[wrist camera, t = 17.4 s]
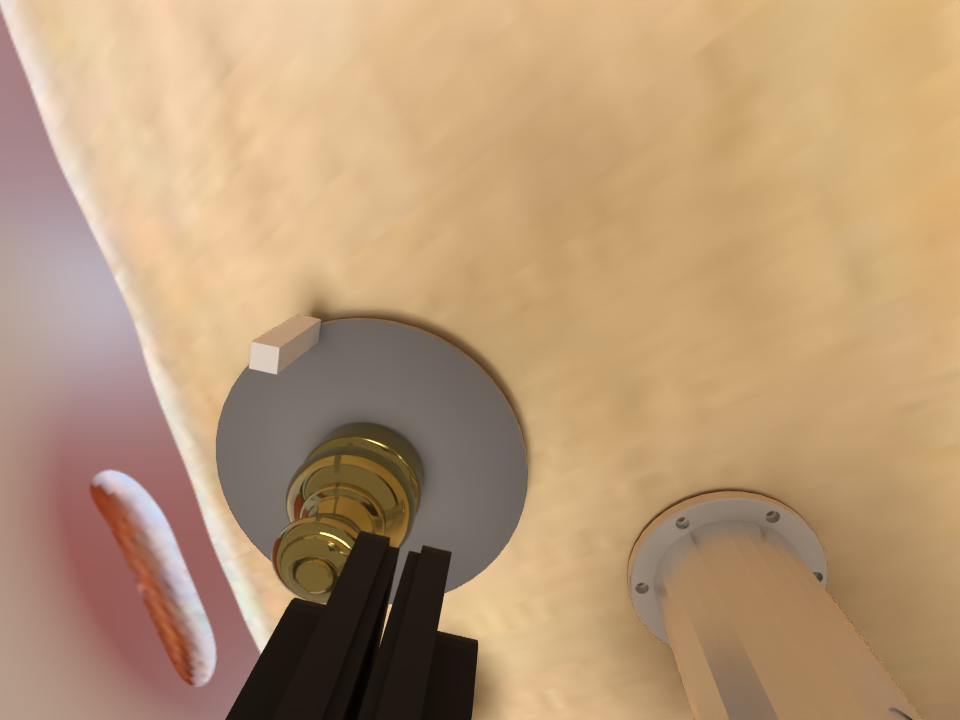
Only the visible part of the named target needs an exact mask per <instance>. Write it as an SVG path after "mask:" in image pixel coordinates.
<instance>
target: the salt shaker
mask: <svg viewBox="0 0 960 720" xmlns="http://www.w3.org/2000/svg"><path fill="white" fill-rule="evenodd" d="M423 489H424V470H423V466H422V463H421V461H420V459H419V457H418V455H417V453H416V452H415V450H414V449H413V447H412V446H411V445H410V444H409V443H408V442H407V441H406V440H405V439H404V438H402V437H401V436H400V435H398V434H397V433H395V432H393V431H391V430H389V429H387V428H384V427H381V426H378V425H373V424H363V423H361V424H351V425H346V426H343V427H340V428H338V429H336V430H334V431H332V432H331V433H329V434H328V435H327V436H325V437H324V438H323V439H322V440H321V441H320V443H319V444H318V445H317V447H316V448H314V449H313V450H312V451H311V452H310V454H309V455H308V456H307V458H306V459H305V461H304V463H303V464H302V465H301V466H300V467H299V468H298V469H297V470H296V472H295V473H294V475H293V476H292V478H291V480H290V482H289V484H288V488H287V491H286V497H285V508H286V514H287V518H288V521H289V524H288V525H287V526H286V527H285V528H284V529H283V530H282V531H281V532H280V534H279V535H278V537H277V538H276V541H275V543H274V545H273V549H272V555H271V559H272V566H273V569H274V572H275V574H276V576H277V578H278V580H279V581H280V583H281V584H282V585H283V586H284V587H285V588H286V589H287V590H288V591H289V592H290V593H292V594H293V595H294V596H296V597H298V598H299V599H303V600H308V601H312V602H316V603H321V604H325V605H326V603H327V601H328V599H329V597H330V595H331V593H332V590H333V588H334V586H335V584H336V582H337V580H338V577H339V575H340V573H341V571H342V569H343V567H344V564H345V562H346V560H347V558H348V556H349V554H350V551H351V549H352V547H353V545H354V543H355V541H356V538H357V536H358V534H359V532H360V531H365V532H370V533H374V534H378V535H382V536H387V537H390V545H389V546H392V547H396V548H401V547H402V546H403V545H404V543H405V542H406V541H407V539H408V538H409V536H410V534H411V531H412V529H413V526H414V521H415V517H416V515H417V512H418V510H419V507H420V502H421V496H422V493H423Z"/></svg>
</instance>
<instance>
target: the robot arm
mask: <svg viewBox="0 0 960 720" xmlns="http://www.w3.org/2000/svg"><path fill="white" fill-rule="evenodd" d="M389 545H390V537H387V536H382V535H378V534H374V533H370V532H365V531H360V532H359V534H358V536H357V538H356V541H355V543H354V545H353V547H352V549H351V551H350V554H349V556H348V558H347V560H346V562H345V564H344V567H343V569H342V571H341V573H340V575H339V577H338V580H337V582H336V584H335V586H334V588H333V590H332V593H331V595H330V597H329V599H328V601H327V603H326V605H325V604H321V603H316V602H312V601H308V600H303V599H299V598H294V599H293V600H292V601H291V602H290V604H289V605H288V607H287V608H286V610H285V612H284V614H283V616H282V617H281V619H280V621H279V623H278V625H277V627H276V628H275V630H274V632H273V634H272V636H271V637H270V639H269V641H268V643H267V645H266V647H265V648H264V650H263V652H262V654H261V656H260V657H259V660H258V661H257V663H256V665H255V667H254V669H253V670H252V672H251V674H250V676H249V677H248V679H247V681H246V683H245V685H244V687H243V688H242V690H241V692H240V694H239V696H238V697H237V699H236V701H235V703H234V705H233V707H232V708H231V710H230V712H229V714H228V716H227V718H226V719H225V720H471V718H472V708H473V697H474V686H475V675H476V665H477V654H478V640H474V639H470V638H466V637H462V636H457V635H453V634H449V633H444V632H440V631H437V629H438V624H439V619H440V613H441V608H442V603H443V597H444V592H445V587H446V581H447V576H448V571H449V565H450V560H451V554H452V552H451V551H446V550H442V549H438V548H434V547H429V546H425V545H423V546H422V549H421V553H418V552H413V551H409V552H408V555H407V559H406V562H405V565H404V568H403V572H402V575H401V578H400V582H399V585H398V588H397V591H396V595H395V598H394V601H393V604H392V608H391V611H390V614H389V618H388V621H387V624H386V627H385V631H384V634H383V637H382V632H383V627H384V623H385V618H386V613H387V608H388V604H389V599H390V594H391V589H392V585H393V580H394V575H395V570H396V566H397V561H398V556H399V551H400V548H396V547H392V546H389ZM627 578H628V586H629V592H630V596H631V599H632V603H633V606H634V608H635V610H636V612H637V614H638V616H639V618H640V620H641V621H642V622H643V624H644V625H645V626H646V627H647V629H648V630H649V631H650V632H651V633H652V634H654V635H655V636H656V637H657V638H658V639H660V640H661V641H662V642H664V643H666V644H668V645H669V646H671V648H672V651H673V654H674V657H675V660H676V663H677V666H678V670H679V673H680V676H681V679H682V682H683V685H684V688H685V691H686V694H687V698H688V701H689V704H690V707H691V710H692V713H693V716H694V719H695V720H922V718H921V717H920V716H919V714H918V713H917V712H916V710H915V709H914V708H913V706H912V705H911V704H910V702H909V701H908V700H907V698H906V697H905V696H904V694H903V693H902V692H901V690H900V689H899V688H898V686H897V685H896V684H895V682H894V681H893V680H892V678H891V677H890V675H889V674H888V673H887V671H886V670H885V669H884V667H883V666H882V665H881V663H880V662H879V661H878V659H877V658H876V657H875V655H874V654H873V653H872V651H871V650H870V649H869V647H868V646H867V645H866V643H865V642H864V641H863V639H862V638H861V637H860V635H859V634H858V633H857V631H856V630H855V629H854V627H853V626H852V625H851V623H850V622H849V621H848V619H847V618H846V617H845V615H844V614H843V612H842V611H841V610H840V608H839V607H838V606H837V604H836V603H835V602H834V600H833V599H832V598H831V596H830V595H829V594H828V592H827V591H826V590H825V589H826V585H827V581H828V564H827V560H826V556H825V552H824V549H823V547H822V545H821V543H820V541H819V539H818V537H817V535H816V534H815V533H814V532H813V530H812V529H811V528H810V527H809V525H808V524H807V523H806V522H805V521H804V520H803V519H802V518H801V517H800V516H799V515H798V514H797V513H796V512H795V511H793V510H792V509H790V508H789V507H787V506H785V505H784V504H782V503H780V502H779V501H776V500H774V499H771V498H768V497H766V496H763V495H759V494H754V493H748V492H742V491H721V492H715V493H709V494H703V495H700V496H697V497H694V498H691V499H687V500H685V501H683V502H681V503H679V504H677V505H675V506H673V507H671V508H669V509H668V510H666V511H665V512H664V513H662V514H661V515H660V516H658V517H657V518H656V519H655V520H653V522H652V523H651V524H650V525H649V526H648V527H647V528H646V529H645V530H644V531H643V533H642V534H641V536H640V538H639V539H638V541H637V542H636V544H635V546H634V548H633V551H632V554H631V557H630V560H629V565H628V574H627ZM381 637H382V641H381ZM380 641H381V644H380ZM379 646H380V647H379Z"/></svg>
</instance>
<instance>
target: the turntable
mask: <svg viewBox="0 0 960 720" xmlns="http://www.w3.org/2000/svg"><path fill="white" fill-rule="evenodd" d="M361 423H363V424H373V425H378V426H381V427H384V428H387V429H389V430H391V431H393V432H395V433H397V434H398V435H400V436H401V437H402V438H404V439H405V440H406V441H407V442H408V443H409V444H410V445H411V446H412V447H413V449H414V450H415V452H416V453H417V455H418V457H419V459H420V461H421V463H422V466H423V470H424V489H423V493H422V496H421V502H420V507H419V510H418V512H417V515H416V517H415V521H414V526H413V529H412V531H411V534H410V536H409V538H408V539H407V541H406V542H405V543H404V545H403V546H402V547H401V548H400V551H399V556H398V561H397V566H396V570H395V575H394V580H393V585H392V589H391V594H390V599H389V604H393V601H394V598H395V595H396V591H397V588H398V585H399V582H400V578H401V575H402V572H403V568H404V565H405V562H406V559H407V555H408V552H409V551H413V552H418V553H421V549H422V546H423V545H425V546H429V547H434V548H438V549H442V550H446V551H451V552H452V554H451V560H450V565H449V571H448V576H447V581H446V587H445V592H444V593H446V592H449V591H451V590H453V589H456V588H458V587H459V586H461V585H463V584H465V583H466V582H468V581H470V580H471V579H473V578H474V577H475V576H477V575H478V574H479V573H481V572H482V571H483V570H484V569H486V568H487V567H488V566H489V565H490V564H491V563H492V562H493V561H494V560H495V559H496V557H497V556H498V555H499V554H500V553H501V551H502V550H503V549H504V547H505V546H506V544H507V543H508V542H509V540H510V538H511V536H512V534H513V532H514V531H515V529H516V527H517V525H518V522H519V519H520V516H521V513H522V510H523V507H524V502H525V496H526V491H527V459H526V449H525V444H524V440H523V436H522V432H521V428H520V426H519V423H518V421H517V418H516V416H515V414H514V411H513V409H512V407H511V406H510V404H509V402H508V400H507V399H506V397H505V395H504V394H503V392H502V391H501V389H500V388H499V387H498V385H497V384H496V383H495V382H494V380H493V379H492V378H491V376H490V375H489V374H488V373H487V372H486V371H485V370H484V369H483V368H482V367H481V366H480V365H479V364H478V363H477V362H476V361H475V360H473V359H472V358H471V357H469V356H468V355H467V354H465V353H464V352H463V351H462V350H460V349H459V348H458V347H456V346H454V345H453V344H451V343H449V342H447V341H446V340H444V339H442V338H441V337H439V336H437V335H434V334H432V333H430V332H427V331H425V330H423V329H420V328H418V327H414V326H411V325H407V324H404V323H400V322H397V321H390V320H384V319H378V318H346V319H336V320H330V321H326V322H322V323H321V319H318V318H313V317H309V316H304V315H300V314H297V315H295V316H294V317H292V318H290V319H289V320H287V321H285V322H284V323H282V324H280V325H279V326H277V327H275V328H273V329H272V330H270V331H268V332H267V333H265V334H263V335H262V336H260V337H258V338H257V339H255V340H253V341H251V351H250V362H249V366H248V367H247V368H246V369H245V370H244V371H243V372H242V374H241V375H240V376H239V378H238V379H237V381H236V382H235V384H234V385H233V387H232V388H231V391H230V393H229V395H228V397H227V399H226V401H225V403H224V406H223V409H222V412H221V416H220V419H219V423H218V430H217V436H216V461H217V469H218V476H219V479H220V483H221V486H222V490H223V494H224V496H225V498H226V501H227V503H228V505H229V508H230V510H231V512H232V514H233V515H234V517H235V519H236V521H237V522H238V524H239V526H240V527H241V529H242V530H243V531H244V533H245V534H246V535H247V537H248V538H249V539H250V541H251V542H252V543H253V544H254V545H255V546H256V547H257V548H258V549H259V550H260V551H261V552H262V554H263V555H264V556H265V557H267V558H268V559H269V560H270V561H271V562H272V559H271V555H272V549H273V545H274V543H275V541H276V538H277V537H278V535H279V534H280V532H281V531H282V530H283V529H284V528H285V527H286V526H287V525H288V524H289V521H288V518H287V514H286V508H285V497H286V491H287V488H288V484H289V482H290V480H291V478H292V476H293V475H294V473H295V472H296V470H297V469H298V468H299V467H300V466H301V465H302V464H303V463H304V461H305V459H306V458H307V456H308V455H309V454H310V452H311V451H312V450H313V449H314V448H316V447H317V445H318V444H319V443H320V441H321V440H322V439H323V438H324V437H325V436H327V435H328V434H329V433H331V432H332V431H334V430H336V429H338V428H340V427H343V426H346V425H351V424H361Z"/></svg>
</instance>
